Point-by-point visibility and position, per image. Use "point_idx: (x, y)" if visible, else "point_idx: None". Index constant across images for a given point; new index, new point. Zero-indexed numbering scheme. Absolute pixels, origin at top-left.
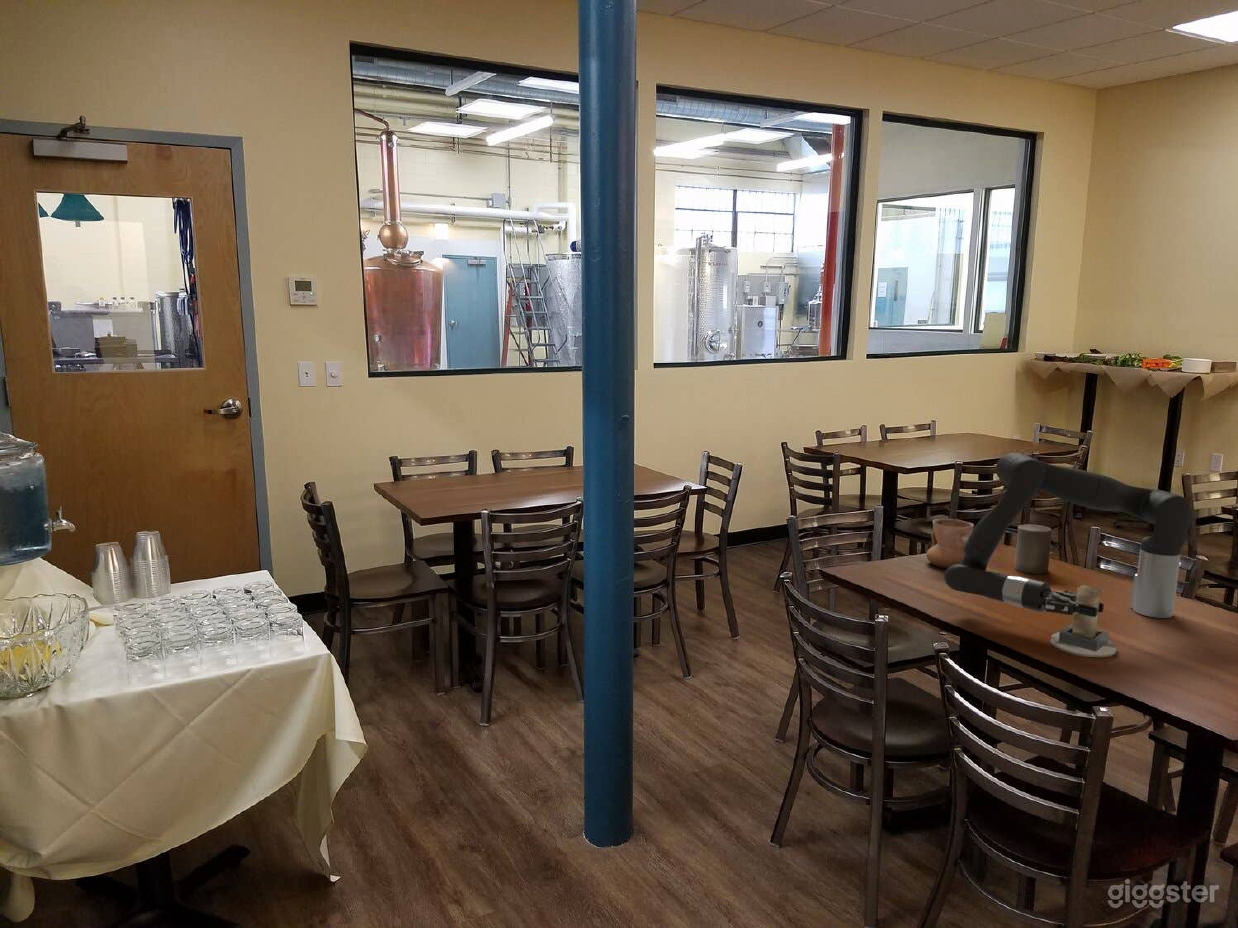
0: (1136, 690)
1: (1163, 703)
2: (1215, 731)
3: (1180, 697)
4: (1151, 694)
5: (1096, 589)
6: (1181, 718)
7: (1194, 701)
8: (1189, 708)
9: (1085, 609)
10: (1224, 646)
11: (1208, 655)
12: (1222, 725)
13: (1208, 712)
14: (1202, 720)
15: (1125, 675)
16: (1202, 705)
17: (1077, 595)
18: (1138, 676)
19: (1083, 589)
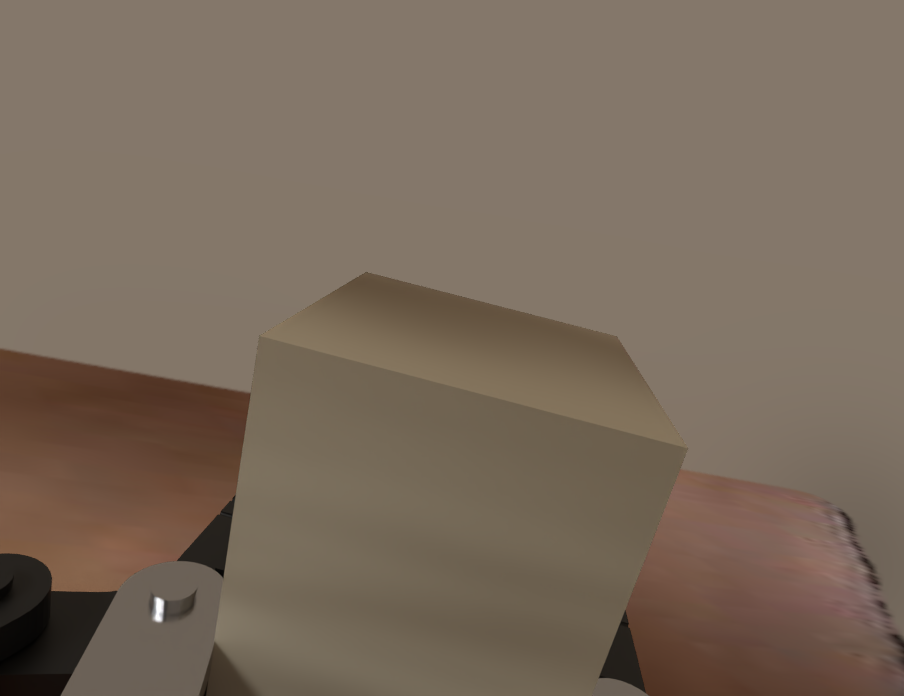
0: (811, 647)
1: (813, 581)
2: (834, 509)
3: (697, 534)
4: (781, 604)
5: (450, 302)
6: (861, 555)
7: (686, 511)
8: (758, 529)
9: (622, 643)
10: (19, 357)
11: (161, 406)
12: (776, 492)
13: (729, 499)
14: (803, 518)
15: (684, 679)
16: (694, 501)
17: (625, 590)
18: (635, 628)
19: (634, 393)
